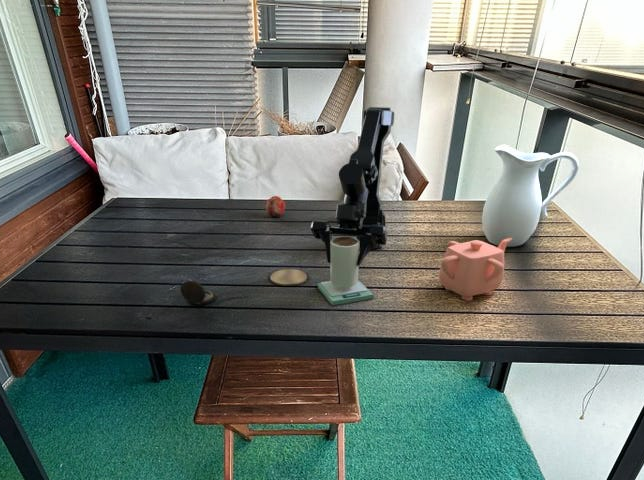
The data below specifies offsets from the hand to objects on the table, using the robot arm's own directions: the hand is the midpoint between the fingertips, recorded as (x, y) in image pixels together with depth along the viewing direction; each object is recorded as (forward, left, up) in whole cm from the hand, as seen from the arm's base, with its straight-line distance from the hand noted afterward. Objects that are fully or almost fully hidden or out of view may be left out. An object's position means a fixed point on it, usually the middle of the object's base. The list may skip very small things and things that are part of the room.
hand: (343, 263), depth 120 cm
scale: (-1, 0, -8) cm, 8 cm away
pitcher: (-66, -16, -8) cm, 69 cm away
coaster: (+10, -14, -8) cm, 19 cm away
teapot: (-32, +9, -8) cm, 35 cm away
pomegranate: (-1, -70, -8) cm, 70 cm away
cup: (-1, -1, -5) cm, 5 cm away
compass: (+36, -9, -8) cm, 38 cm away
